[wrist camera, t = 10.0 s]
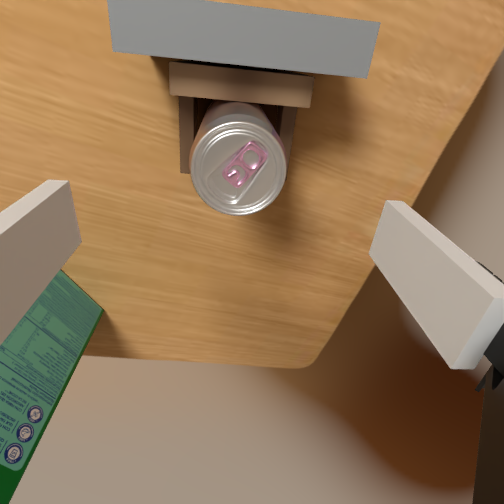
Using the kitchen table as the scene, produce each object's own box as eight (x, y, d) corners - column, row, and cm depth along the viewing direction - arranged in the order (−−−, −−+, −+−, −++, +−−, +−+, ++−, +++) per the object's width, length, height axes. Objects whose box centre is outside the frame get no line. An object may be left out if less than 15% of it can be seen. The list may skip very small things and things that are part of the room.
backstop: (148, 53, 28) (112, 51, 19) (145, 10, 26) (105, -12, 18) (327, 72, 29) (366, 78, 21) (334, 33, 28) (380, 22, 19)
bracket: (184, 162, 33) (173, 190, 26) (183, 60, 28) (168, 61, 21) (281, 169, 34) (294, 198, 27) (294, 72, 29) (314, 77, 22)
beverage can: (277, 123, 32) (310, 169, 19) (237, 167, 34) (242, 236, 21) (232, 76, 29) (234, 91, 16) (191, 127, 31) (165, 176, 18)
